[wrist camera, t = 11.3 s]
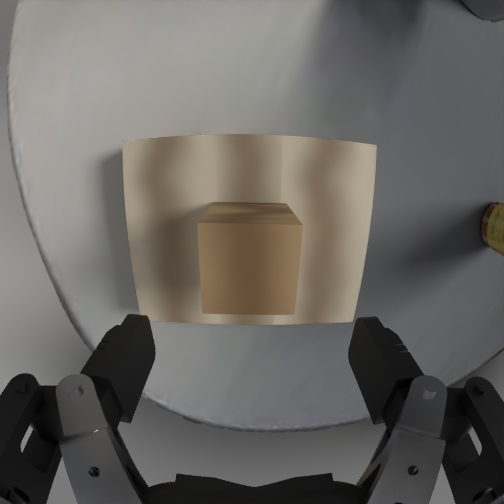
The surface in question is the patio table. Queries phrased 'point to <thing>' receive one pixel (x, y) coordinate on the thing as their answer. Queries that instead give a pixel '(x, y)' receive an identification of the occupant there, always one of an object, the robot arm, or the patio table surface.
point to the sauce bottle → (494, 227)
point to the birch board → (247, 191)
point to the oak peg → (249, 258)
